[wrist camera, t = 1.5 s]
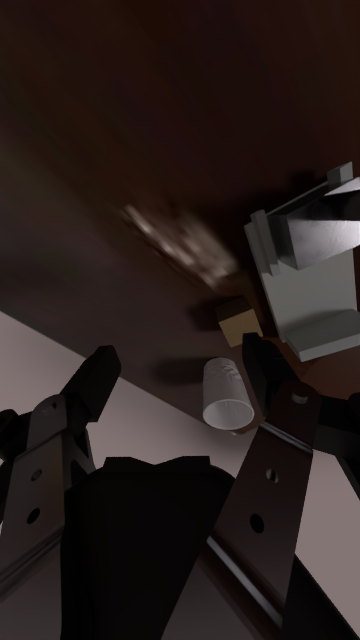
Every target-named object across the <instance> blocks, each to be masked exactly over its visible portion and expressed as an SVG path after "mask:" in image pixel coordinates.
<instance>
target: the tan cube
mask: <svg viewBox="0 0 360 640" xmlns="http://www.w3.org/2000/svg"><path fill="white" fill-rule="evenodd" d="M215 310H216V314H217V318H218V322H219V324H220V326H221V329H222V331H223V333H224V335H225V337H226V339H227V341H228V343H229V345H230V347H233V346H236V345H239V344H242V336H243V333H250V332H257V333H258V334H259V336H260V337H262V336H263V334H262V331H261V329H260V326H259V323H258V320H257V318H256V315H255V312H254V310H253V308H252V306H251V305H250V303H249V302H248V300H247V299H246V297H245V296H241V297H239V298H237V299H234V300H232V301H230V302H227V303H225V304H223V305H220V306H218V307H215Z"/></svg>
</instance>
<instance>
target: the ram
mask: <svg viewBox="0 0 360 640" xmlns="http://www.w3.org/2000/svg"><path fill="white" fill-rule="evenodd" d="M268 220H269V224H270V227H271V231H272V235H273V239H274V243H275V246H276V250H277V254H278V258H279V261H280V262H282V263H284V264H286V265H288V266H290V267H292V268H294V269H296V270H298V271H299V270H302V269H304V268H306V267H309V266H311V265H313V264H316V263H318V262H320V261H323V260H325V259H327V258H330V257H332V256H334V255H337V254H339V253H341V252H344V251H346V250H348V249H351V248H353V247H355V246H358V245H360V181H359V177H357V178H353V179H349V180H345V181H341V182H337V183H333V184H329V185H325V186H322V187H320V188H318V189H316V190H315V191H313V192H311V193H309V194H307V195H305V196H303V197H301V198H300V199H298V200H296V201H294V202H292V203H290V204H288V205H287V206H285V207H283V208H281V209H279V210H277V211H275V212H273V213H272V214H270V215H268Z"/></svg>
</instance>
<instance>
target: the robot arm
mask: <svg viewBox="0 0 360 640" xmlns="http://www.w3.org/2000/svg"><path fill="white" fill-rule="evenodd" d="M242 358H243V363H244V366H245V369H246V372H247V374H248V377H249V380H250V383H251V385H252V388H253V391H254V393H255V396H256V399H257V402H258V404H259V407H260V410H261V412H262V415H263V417H266V419H265V421H264V423H261V424H260V426H259V427H258V430H257V432H256V434H255V436H254V439H253V441H252V443H251V445H250V448H249V450H248V452H247V455H246V457H245V459H244V461H243V463H242V466H241V468H240V470H239V473H238V475H237V477H236V479H235V478H234V477H233V476H232V475H231V474H229V473H228V472H226V471H224V470H223V469H221V468H218V467H216V466H213V465H211V464H210V458H209V456H182V457H179V458H175V459H173V460H169V461H167V462H163V463H160V464H156V465H153V464H150V463H147V462H144V461H141V460H138V459H135V458H132V457H106V460H105V462H104V465H103V467H101V468H99V469H97V470H96V468H95V465H94V462H93V457H92V452H91V447H90V441H89V436H88V431H87V429H86V425H87V423H88V422H98V419H99V417H100V415H101V413H102V411H103V409H104V407H105V405H106V402H107V400H108V398H109V396H110V394H111V392H112V390H113V388H114V386H115V383H116V381H117V379H118V377H119V375H120V373H121V363H120V361H119V358H118V356H117V353H116V351H115V348H114V347H113V346H112V345H108V346H99V347H98V348H97V350H96V351H95V352H94V354H93V355H91V356H90V357H89V358H87V359H86V360H85V361H84V362H83V363H82V365H81V366H80V368H79V369H78V370H77V371H76V373H75V374H74V375H73V376H72V378H71V379H70V380H69V382H68V383H67V384H66V386H65V387H64V388H63V389H62V391H61V392H60V393H59V394H56V395H52V396H50V397H48V398H46V399H45V400H43V401H42V402H40V403H39V404H38V405H37V406H36V407H35V409H34V410H33V411H31V412H28V413H25V414H22V415H18V414H17V413H16V412H15V411H14V410H12V409H7V410H3V411H1V412H0V458H1V459H2V460H3V461H4V462H3V463H2V465H1V466H0V524H1V523H2V521H3V524H2V529H1V534H0V640H360V638H359V637H358V636H357V634H356V633H355V632H354V630H353V629H352V628H351V626H350V625H349V624H348V622H347V621H346V620H345V619H344V617H343V616H342V615H341V613H340V612H339V611H338V609H337V608H336V607H335V606H334V604H333V603H332V602H331V600H330V599H329V598H328V597H327V595H326V594H325V592H324V591H323V590H322V588H321V587H320V586H319V584H318V583H317V582H316V581H315V579H314V578H313V577H312V575H311V574H310V573H309V571H308V570H307V569H306V568H305V566H304V565H303V564H302V562H301V561H300V560H299V558H298V557H297V556H296V554H295V549H296V543H297V538H298V532H299V528H300V522H301V517H302V512H303V506H304V501H305V496H306V491H307V485H308V480H309V474H310V469H311V464H312V458H313V450H312V449H315V450H318V451H321V452H325V453H328V454H332V455H335V457H336V458H337V460H338V462H339V464H340V466H341V467H342V469H343V471H344V473H345V475H346V476H347V478H348V480H349V481H350V484H351V485H352V487H353V489H354V491H355V493H356V494H357V496H358V498H359V500H360V392H359V393H354V394H352V395H351V396H350V397H349V399H348V400H344V399H338V398H333V397H328V396H324V395H321V394H319V393H318V392H317V391H316V390H315V389H314V388H313V387H311V386H310V385H308V384H306V383H304V382H301V381H300V380H299V378H298V377H297V375H296V374H295V372H294V371H293V369H292V368H291V367H290V365H289V364H288V362H287V361H286V359H284V356H283V355H282V353H280V351H279V349H278V348H277V346H276V345H275V344H273V343H272V342H271V341H269V340H262V339H261V337H260V336H259V334H258V333H257V332H250V333H243V336H242Z"/></svg>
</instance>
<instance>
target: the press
mask: <svg viewBox="0 0 360 640" xmlns="http://www.w3.org/2000/svg"><path fill="white" fill-rule="evenodd" d="M327 178H328V181H326V182H324V183H322V184H321V185H319V186H317V187H315V188H313V189H311V190H310V191H308V192H306V193H304V194H302V195H300V196H298V197H297V198H295V199H293V200H291V201H289V202H287V203H285V204H284V205H282V206H280V207H278V208H276V209H274V210H272V211H271V212H269V213H267V214H265V211H264V210H258V211H257V212H255V213H253V214H251V215H250V216H251V219H252V222H250V223H248V224H247V225H245V226H244V229H245V233H246V236H247V239H248V242H249V245H250V248H251V251H252V254H253V257H254V260H255V263H256V267H257V270H258V273H259V276H260V279H261V282H262V285H263V288H264V291H265V294H266V297H267V301H268V304H269V307H270V310H271V313H272V316H273V319H274V322H275V325H276V328H277V331H278V335H279V338H280V339H281V340H282V342H287V343H288V345H289V346H290V347H291V349H292V350H293V351H294V353H295V354H296V355H297V357H298V358H299V359H300V361H301V362H303V361H306V360H310V359H313V358H316V357H320V356H323V355H327V354H330V353H333V352H337V351H340V350H344V349H347V348H351V347H354V346H358V345H360V313H359V312H358V311H357V305H356V291H355V278H354V265H353V251H352V248H351V249H348V250H346V251H344V252H341V253H339V254H337V255H334V256H332V257H330V258H327V259H325V260H323V261H320V262H318V263H316V264H313V265H311V266H309V267H306V268H304V269H302V270H299V271H298V270H296V269H294V268H292V267H290V266H288V265H286V264H284V263H282V262H280V261H279V258H278V254H277V250H276V246H275V243H274V239H273V235H272V231H271V227H270V224H269V220H268V215H270V214H272V213H273V212H275V211H277V210H279V209H281V208H283V207H285V206H287V205H288V204H290V203H292V202H294V201H296V200H298V199H300V198H301V197H303V196H305V195H307V194H309V193H311V192H313V191H315V190H316V189H318V188H320V187H322V186H325V185H329V184H333V183H337V182H341V181H345V180H349V179H353V175H352V162H349V163H347V164H344V165H341V166H338V167H336V168H334V169H333V170H331V171H329V172H327Z"/></svg>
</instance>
